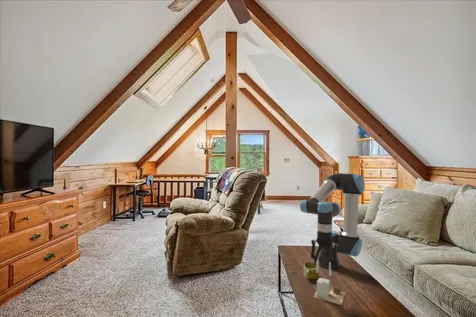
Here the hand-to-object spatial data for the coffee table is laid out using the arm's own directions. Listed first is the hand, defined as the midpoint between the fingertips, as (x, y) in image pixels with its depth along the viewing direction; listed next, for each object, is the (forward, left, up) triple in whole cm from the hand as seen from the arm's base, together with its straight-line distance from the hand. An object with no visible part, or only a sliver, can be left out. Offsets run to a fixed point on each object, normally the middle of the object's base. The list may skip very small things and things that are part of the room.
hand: (323, 273), depth 140 cm
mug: (-17, -12, -13) cm, 25 cm away
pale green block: (0, 0, -12) cm, 12 cm away
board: (-2, +3, -13) cm, 13 cm away
